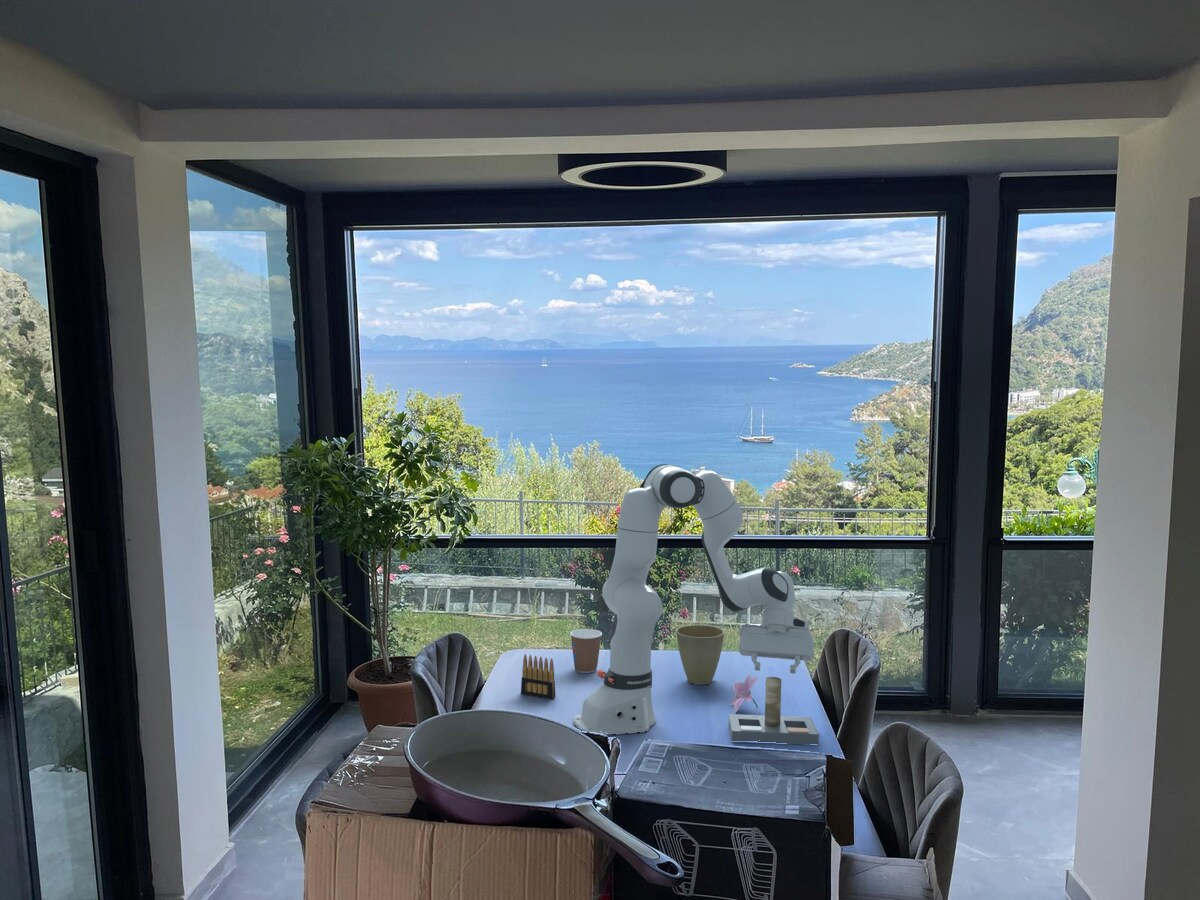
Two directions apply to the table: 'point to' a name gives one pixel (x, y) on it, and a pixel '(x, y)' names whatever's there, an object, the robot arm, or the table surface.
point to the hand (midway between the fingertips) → (775, 671)
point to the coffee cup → (585, 649)
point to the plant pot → (700, 651)
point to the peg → (773, 701)
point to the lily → (743, 692)
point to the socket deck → (773, 729)
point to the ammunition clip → (538, 678)
